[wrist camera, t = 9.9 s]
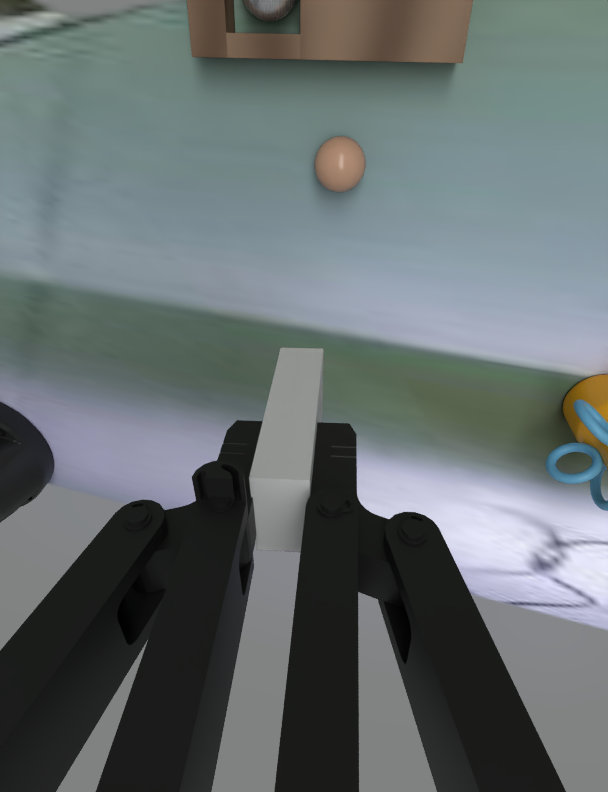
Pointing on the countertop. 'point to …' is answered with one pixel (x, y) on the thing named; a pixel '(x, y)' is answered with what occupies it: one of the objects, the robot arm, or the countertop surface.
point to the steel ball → (269, 8)
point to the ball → (340, 164)
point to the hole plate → (340, 31)
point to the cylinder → (586, 434)
